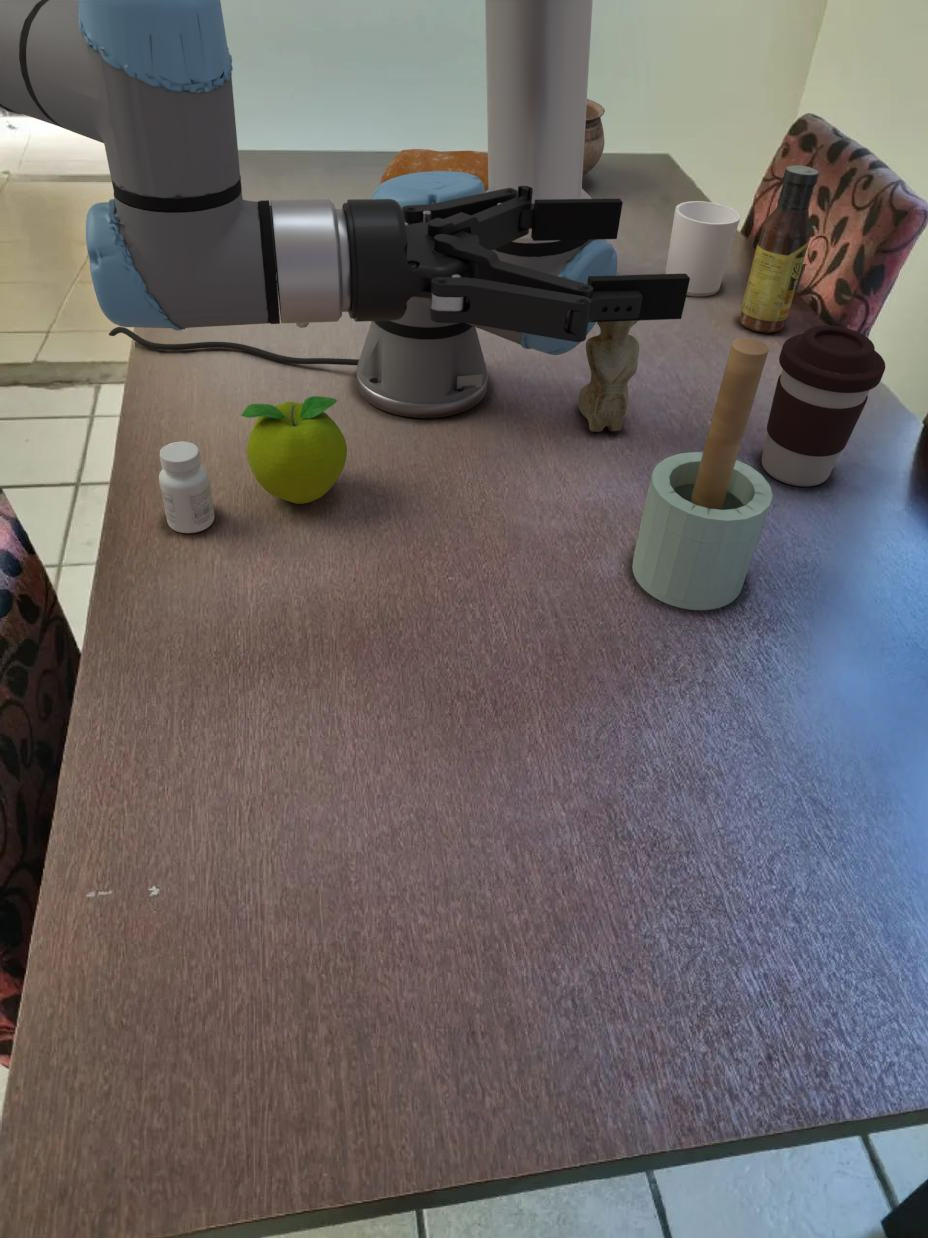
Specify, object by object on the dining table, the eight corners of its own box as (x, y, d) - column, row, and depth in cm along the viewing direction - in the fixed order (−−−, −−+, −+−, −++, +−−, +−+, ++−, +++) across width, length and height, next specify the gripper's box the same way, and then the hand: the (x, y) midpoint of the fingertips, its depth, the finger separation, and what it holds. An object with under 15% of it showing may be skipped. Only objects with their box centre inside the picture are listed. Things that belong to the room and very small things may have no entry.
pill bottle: (218, 507, 91) (208, 438, 86) (210, 535, 88) (199, 465, 82) (172, 506, 91) (159, 437, 85) (163, 534, 87) (148, 463, 82)
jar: (633, 603, 84) (655, 512, 77) (630, 534, 91) (649, 446, 85) (748, 616, 83) (780, 526, 77) (735, 546, 91) (763, 458, 84)
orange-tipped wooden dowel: (666, 580, 85) (724, 356, 70) (663, 550, 88) (718, 330, 74) (714, 585, 85) (783, 362, 70) (710, 555, 88) (775, 335, 73)
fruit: (243, 476, 95) (232, 387, 88) (333, 462, 98) (329, 375, 91) (262, 529, 89) (251, 438, 82) (357, 512, 92) (355, 423, 85)
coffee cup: (772, 434, 107) (812, 308, 96) (855, 468, 102) (907, 340, 92) (731, 469, 101) (770, 339, 91) (818, 507, 96) (868, 374, 86)
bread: (389, 242, 142) (388, 130, 131) (561, 261, 140) (574, 148, 130) (369, 279, 132) (367, 160, 121) (554, 300, 130) (568, 181, 120)
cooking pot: (608, 209, 158) (620, 130, 150) (496, 204, 157) (502, 125, 148) (587, 161, 176) (597, 88, 168) (487, 157, 175) (492, 83, 167)
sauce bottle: (784, 338, 125) (832, 181, 112) (737, 331, 126) (778, 175, 113) (782, 317, 130) (827, 165, 117) (736, 311, 131) (776, 159, 117)
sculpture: (619, 405, 110) (643, 280, 100) (631, 438, 104) (657, 309, 94) (570, 404, 109) (588, 278, 99) (579, 438, 104) (600, 308, 94)
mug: (705, 303, 132) (723, 229, 125) (649, 285, 136) (663, 211, 129) (738, 280, 139) (757, 208, 132) (684, 263, 142) (700, 192, 135)
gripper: (328, 245, 73) (589, 240, 77) (365, 410, 55) (703, 392, 59) (323, 141, 68) (603, 141, 72) (363, 285, 50) (732, 275, 54)
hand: (649, 254), depth 65 cm, fingers open, 13 cm apart
